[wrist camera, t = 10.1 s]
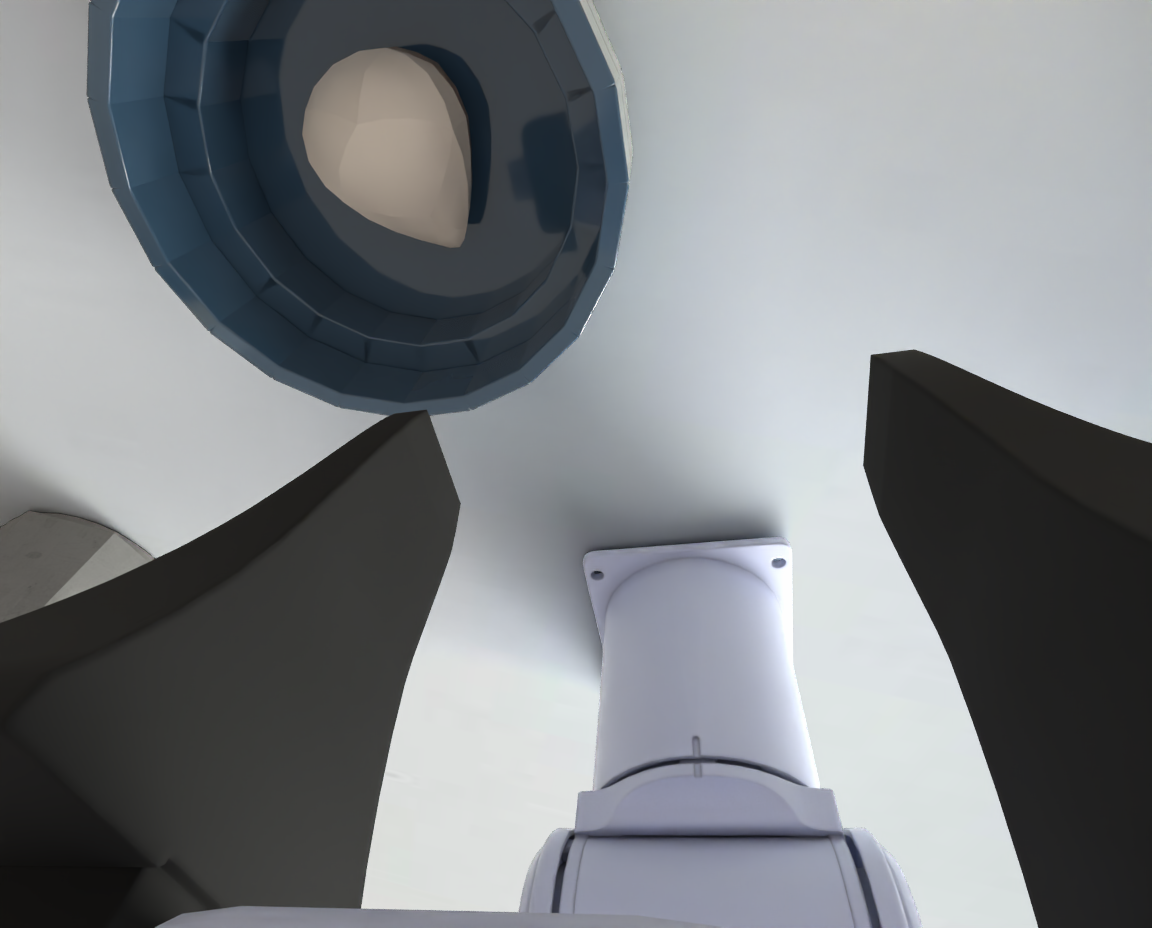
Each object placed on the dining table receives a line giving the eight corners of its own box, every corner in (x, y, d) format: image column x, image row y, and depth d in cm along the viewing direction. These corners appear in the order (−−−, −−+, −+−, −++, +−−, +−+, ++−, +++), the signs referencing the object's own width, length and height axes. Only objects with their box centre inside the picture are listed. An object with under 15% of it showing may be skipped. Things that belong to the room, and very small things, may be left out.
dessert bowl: (655, 322, 21) (656, 388, 17) (310, 370, 23) (244, 438, 19) (590, -198, 14) (569, -275, 10) (117, -62, 16) (-40, -87, 13)
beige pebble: (423, 9, 16) (390, 8, 14) (531, 197, 18) (516, 219, 16) (299, 107, 18) (252, 119, 16) (413, 269, 20) (385, 298, 18)
